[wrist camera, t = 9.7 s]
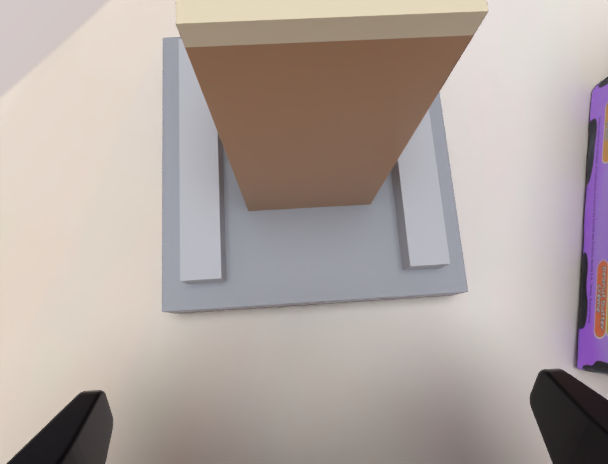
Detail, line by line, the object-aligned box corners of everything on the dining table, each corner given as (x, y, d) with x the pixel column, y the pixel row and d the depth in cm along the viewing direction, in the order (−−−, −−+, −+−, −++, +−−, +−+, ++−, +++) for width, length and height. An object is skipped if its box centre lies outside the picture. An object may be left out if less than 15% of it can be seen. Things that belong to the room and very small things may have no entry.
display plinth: (450, 295, 19) (490, 286, 16) (175, 313, 19) (144, 309, 15) (417, 52, 22) (444, -7, 18) (174, 64, 22) (148, 5, 18)
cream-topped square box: (370, 204, 18) (488, 11, 7) (248, 211, 18) (176, 24, 7) (360, 106, 19) (451, -199, 8) (244, 111, 19) (175, -193, 8)
